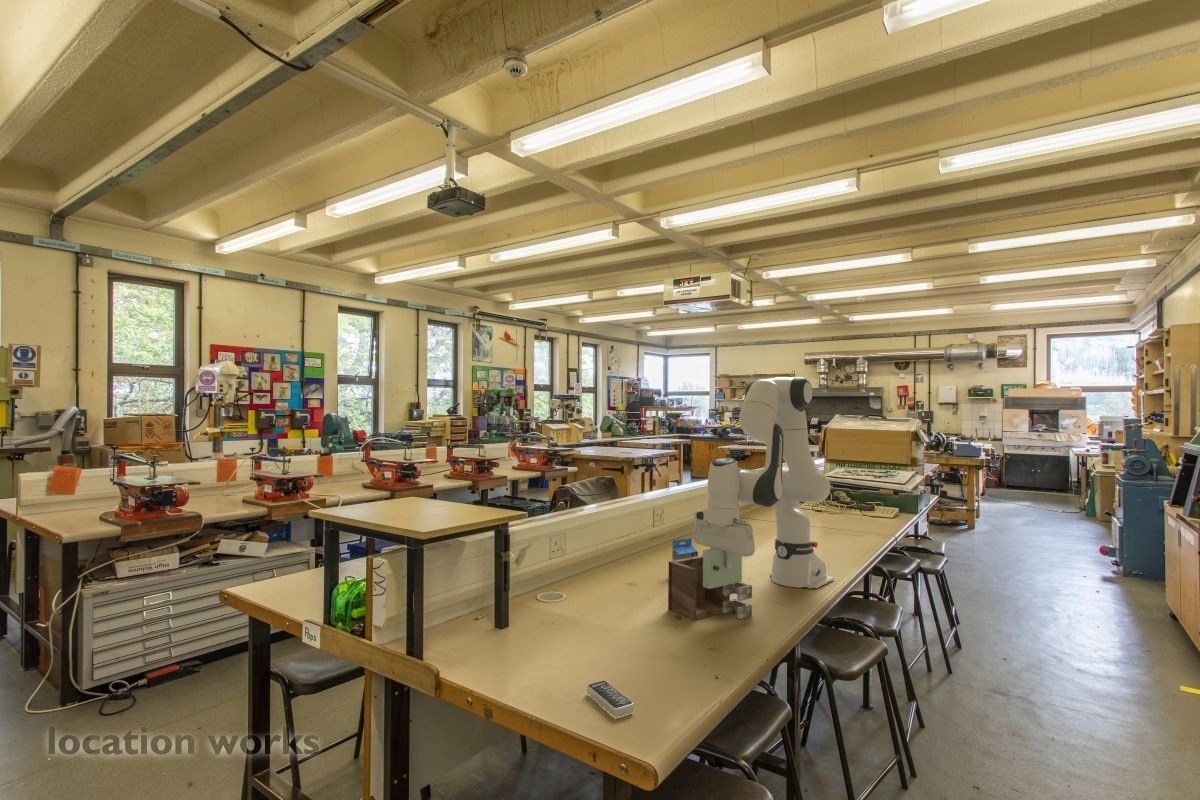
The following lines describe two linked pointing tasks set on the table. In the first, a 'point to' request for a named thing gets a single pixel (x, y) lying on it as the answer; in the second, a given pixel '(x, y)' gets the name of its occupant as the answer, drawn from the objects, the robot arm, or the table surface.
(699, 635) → the table surface
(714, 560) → the door
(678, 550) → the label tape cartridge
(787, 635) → the table surface
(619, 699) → the multiport hub
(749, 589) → the cabinet
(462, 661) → the table surface
